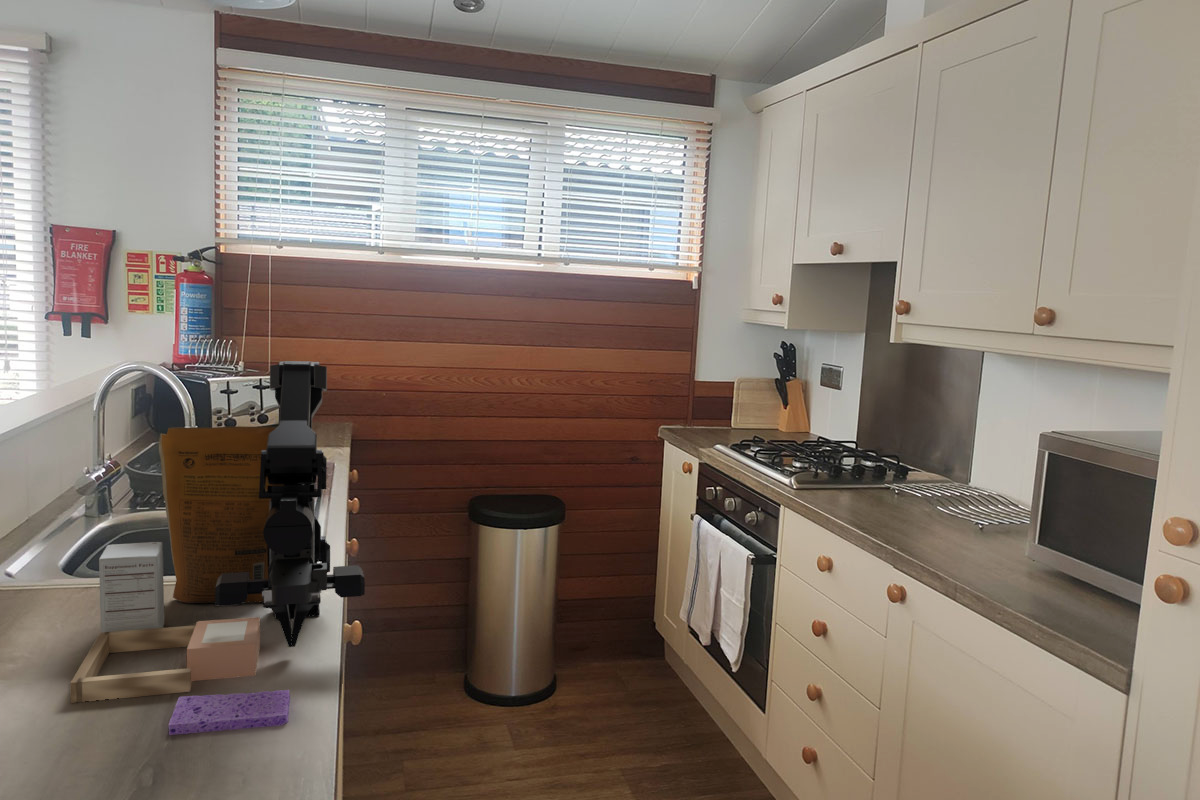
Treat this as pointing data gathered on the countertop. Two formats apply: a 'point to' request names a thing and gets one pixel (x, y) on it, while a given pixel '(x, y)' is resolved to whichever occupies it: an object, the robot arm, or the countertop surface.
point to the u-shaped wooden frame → (132, 684)
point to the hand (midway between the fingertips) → (291, 645)
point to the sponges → (229, 712)
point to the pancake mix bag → (214, 506)
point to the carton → (224, 648)
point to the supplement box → (131, 587)
